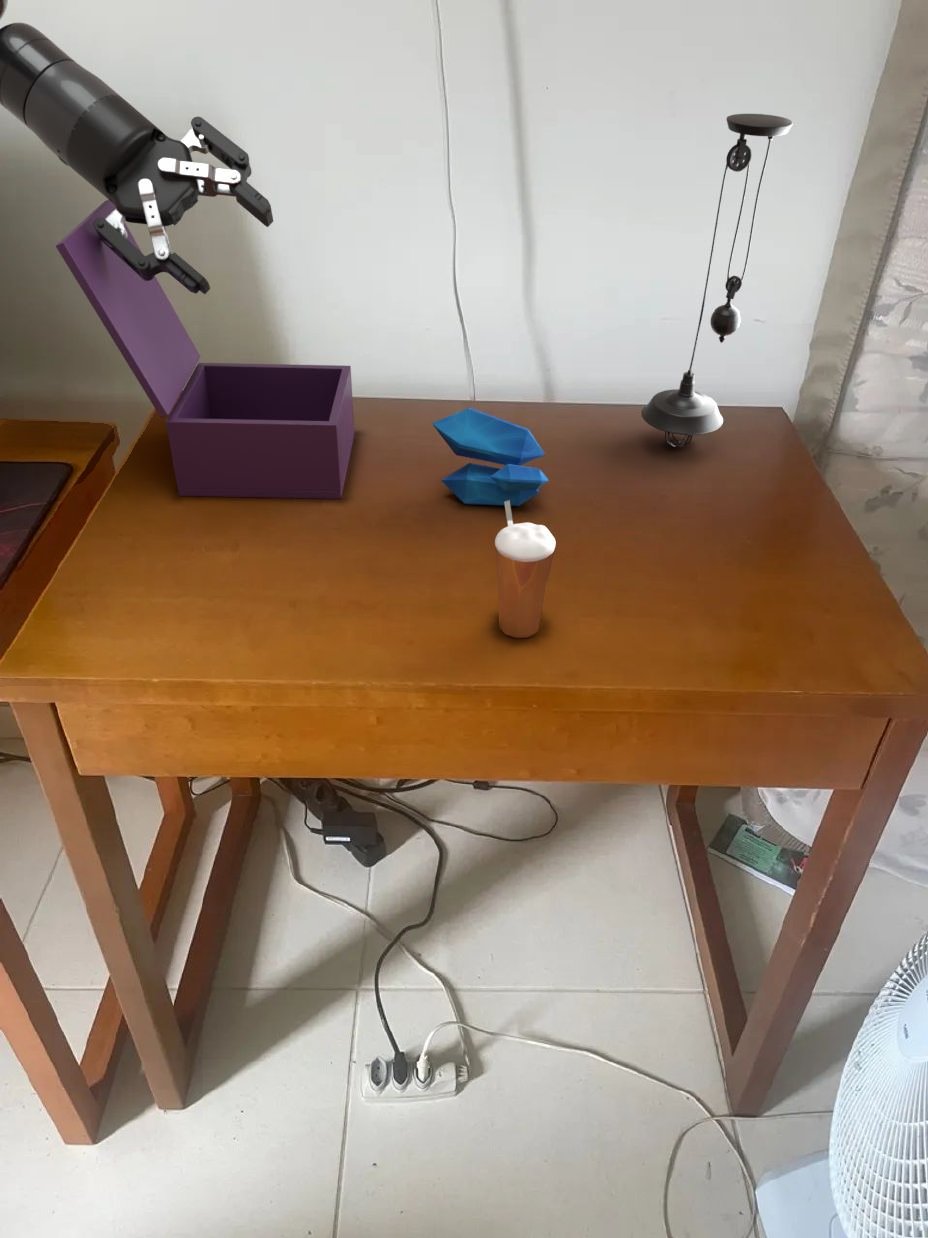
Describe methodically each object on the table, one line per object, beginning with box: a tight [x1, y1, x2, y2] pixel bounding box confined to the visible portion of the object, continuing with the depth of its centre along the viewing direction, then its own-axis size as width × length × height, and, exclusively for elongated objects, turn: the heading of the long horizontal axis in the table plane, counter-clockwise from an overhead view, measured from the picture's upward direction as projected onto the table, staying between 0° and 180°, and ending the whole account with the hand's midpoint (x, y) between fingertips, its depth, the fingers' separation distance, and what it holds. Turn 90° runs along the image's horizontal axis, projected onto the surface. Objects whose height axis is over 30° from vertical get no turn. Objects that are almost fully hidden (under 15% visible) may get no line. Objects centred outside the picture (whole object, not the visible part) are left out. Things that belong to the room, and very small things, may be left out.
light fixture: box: [640, 113, 794, 448], centre depth 95 cm, size 10×8×31 cm
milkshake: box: [494, 501, 557, 639], centre depth 76 cm, size 4×5×10 cm
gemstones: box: [431, 407, 550, 507], centre depth 93 cm, size 7×9×12 cm
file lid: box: [55, 199, 201, 419], centre depth 90 cm, size 16×14×1 cm
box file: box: [165, 362, 355, 500], centre depth 97 cm, size 16×14×8 cm
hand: (238, 253), depth 87 cm, fingers open, 8 cm apart
